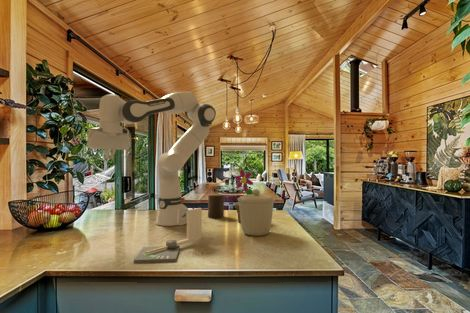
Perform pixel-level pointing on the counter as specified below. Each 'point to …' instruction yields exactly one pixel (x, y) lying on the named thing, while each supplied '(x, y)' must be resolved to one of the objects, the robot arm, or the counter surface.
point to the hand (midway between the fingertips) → (109, 159)
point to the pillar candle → (215, 205)
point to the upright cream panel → (192, 230)
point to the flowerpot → (245, 182)
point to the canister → (256, 213)
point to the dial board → (157, 255)
